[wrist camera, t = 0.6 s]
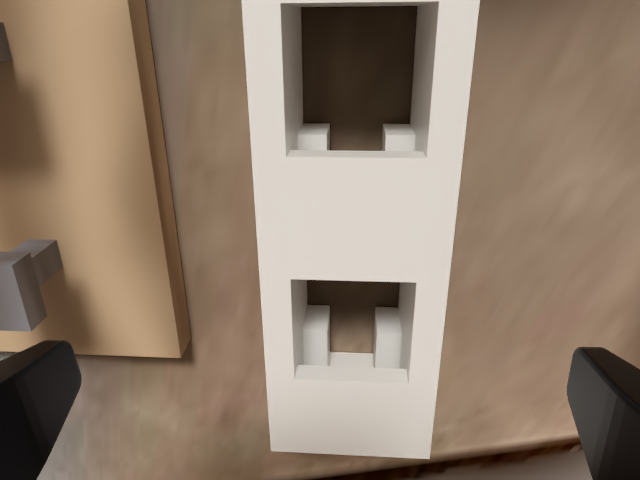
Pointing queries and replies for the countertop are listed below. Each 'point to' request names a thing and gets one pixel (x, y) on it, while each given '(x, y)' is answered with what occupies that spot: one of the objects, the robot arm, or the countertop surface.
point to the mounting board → (85, 184)
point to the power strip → (356, 234)
